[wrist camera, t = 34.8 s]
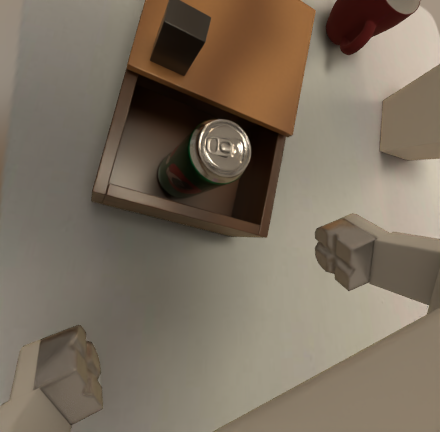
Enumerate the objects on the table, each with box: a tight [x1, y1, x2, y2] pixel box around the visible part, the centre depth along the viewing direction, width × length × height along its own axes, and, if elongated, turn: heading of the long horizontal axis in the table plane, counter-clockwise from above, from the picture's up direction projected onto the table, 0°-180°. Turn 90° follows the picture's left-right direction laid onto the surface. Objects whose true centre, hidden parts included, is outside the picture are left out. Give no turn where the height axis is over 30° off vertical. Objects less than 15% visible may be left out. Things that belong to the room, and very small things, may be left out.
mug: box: [326, 0, 420, 55], centre depth 40 cm, size 10×8×10 cm
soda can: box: [158, 119, 251, 199], centre depth 28 cm, size 5×5×12 cm
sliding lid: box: [127, 0, 315, 137], centre depth 26 cm, size 16×14×6 cm
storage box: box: [91, 68, 286, 237], centre depth 31 cm, size 16×14×8 cm
